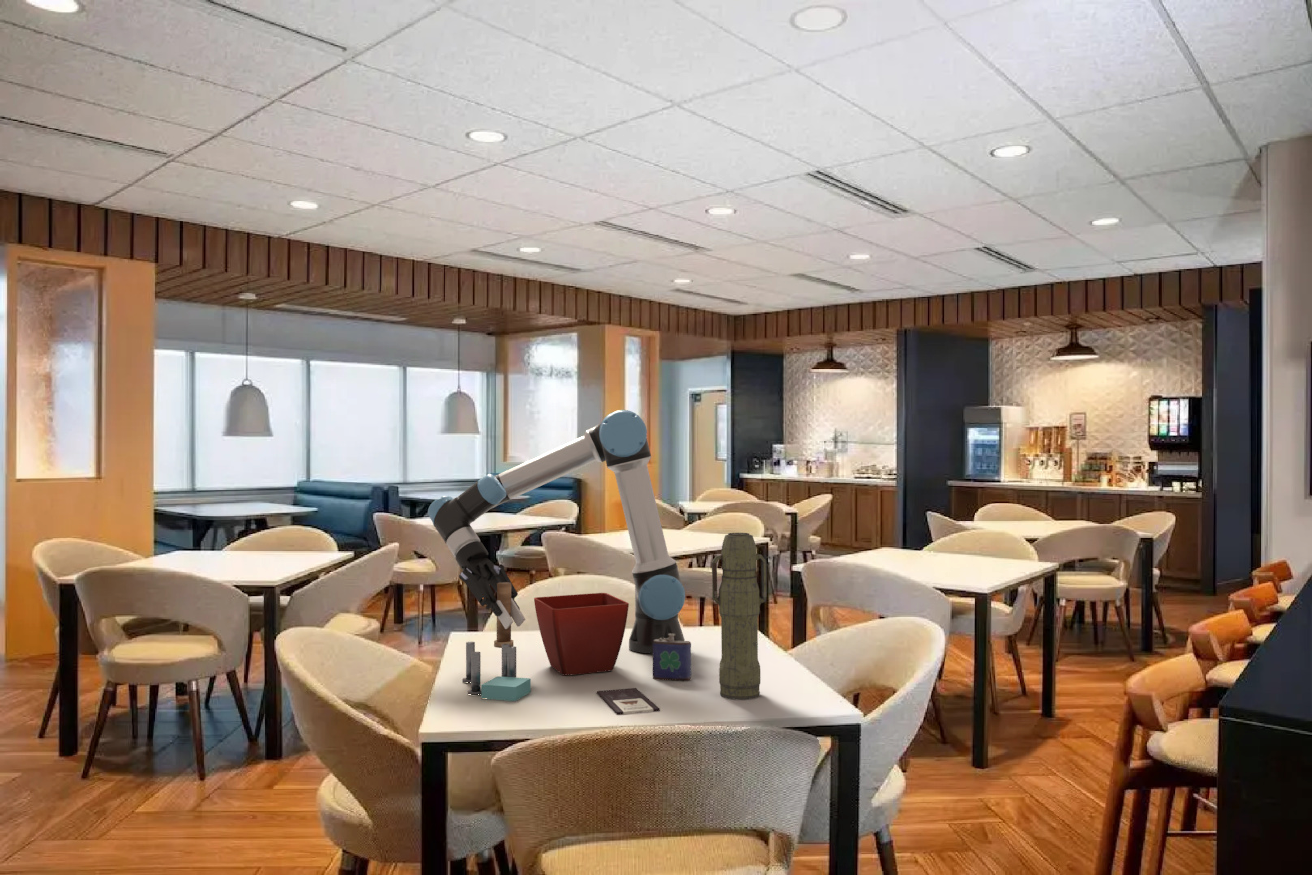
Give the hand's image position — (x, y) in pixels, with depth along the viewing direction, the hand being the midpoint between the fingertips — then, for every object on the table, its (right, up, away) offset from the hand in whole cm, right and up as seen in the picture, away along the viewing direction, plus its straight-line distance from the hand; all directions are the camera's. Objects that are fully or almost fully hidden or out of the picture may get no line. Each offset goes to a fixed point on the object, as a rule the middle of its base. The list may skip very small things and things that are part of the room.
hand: (515, 623), depth 225 cm
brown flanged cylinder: (-3, -6, +2) cm, 7 cm away
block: (+1, -12, -18) cm, 22 cm away
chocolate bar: (+27, -12, -24) cm, 39 cm away
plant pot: (+15, -13, +7) cm, 21 cm away
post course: (-5, -12, -12) cm, 18 cm away
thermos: (+52, -12, -19) cm, 56 cm away
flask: (+37, -12, -4) cm, 39 cm away
